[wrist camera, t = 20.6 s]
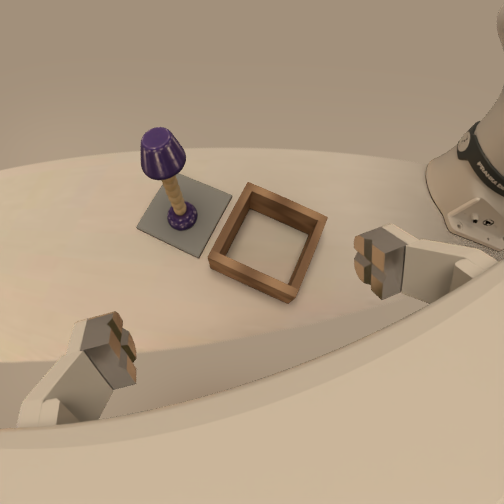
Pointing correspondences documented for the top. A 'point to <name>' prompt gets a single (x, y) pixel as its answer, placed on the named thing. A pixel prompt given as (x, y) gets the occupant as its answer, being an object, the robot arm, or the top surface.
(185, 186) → the slate mat
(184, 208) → the toy lamp
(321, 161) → the top surface
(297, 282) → the walnut crate
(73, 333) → the robot arm
